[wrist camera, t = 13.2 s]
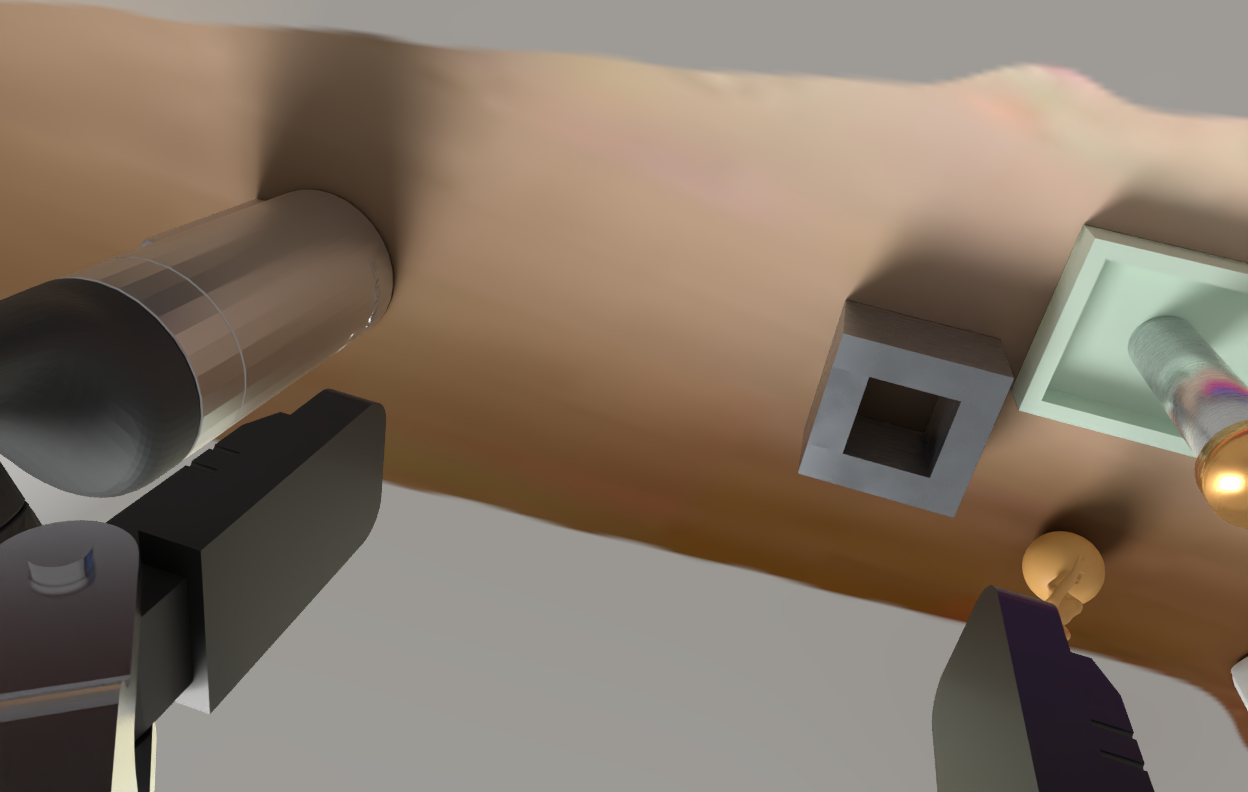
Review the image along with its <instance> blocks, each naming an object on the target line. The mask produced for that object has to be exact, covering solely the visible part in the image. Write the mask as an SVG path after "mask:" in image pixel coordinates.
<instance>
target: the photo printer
mask: <svg viewBox="0 0 1248 792" xmlns="http://www.w3.org/2000/svg"><path fill="white" fill-rule="evenodd" d="M1231 672H1232V675H1233V682H1234V685H1235V687H1236V689H1237V691H1238V693H1239V695H1240V696H1241V698H1242V700H1243V702H1244V704H1245V706H1246V708H1247V710H1248V657H1246V658H1244V659H1243V660H1241V661H1240V662H1238V663H1237V664H1235V665H1234V666H1233V667H1232V669H1231Z"/></svg>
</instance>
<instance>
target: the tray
mask: <svg viewBox="0 0 1248 792" xmlns="http://www.w3.org/2000/svg"><path fill="white" fill-rule="evenodd" d="M1158 316H1176V317H1180V318H1182V319H1185V320H1186V321H1188V322H1189V323H1190V324H1191V325H1192V326H1193V327H1194V328H1195V329H1196V330H1197V331H1198V332H1199V333H1200V335H1201V336H1202V337H1203V338H1204V339H1205V340H1206V341H1207V342H1208V343H1209V344H1210V346H1211V347H1212V348H1213V349H1214V350H1215V351H1216V352H1217V353H1218V354H1219V355H1220V357H1221V358H1222V359H1223V360H1224V361H1225V362H1226V363H1227V364H1228V365H1229V366H1230V368H1231V369H1232V370H1233V371H1234V372H1235V373H1236V374H1237V375H1238V376H1239V377H1240V379H1241V380H1242V381H1243V382H1244V383H1245V384H1246V385H1247V386H1248V263H1245V262H1240V261H1236V260H1232V259H1228V258H1223V257H1219V256H1215V255H1211V254H1206V253H1202V252H1198V251H1194V250H1189V249H1185V248H1181V247H1177V246H1172V245H1168V244H1164V243H1160V242H1155V241H1151V240H1147V239H1143V238H1138V237H1134V236H1130V235H1126V234H1121V233H1117V232H1113V231H1109V230H1104V229H1100V228H1096V227H1092V226H1087V225H1083V227H1082V229H1081V231H1080V234H1079V236H1078V238H1077V241H1076V243H1075V245H1074V247H1073V250H1072V252H1071V254H1070V257H1069V259H1068V261H1067V264H1066V266H1065V268H1064V270H1063V273H1062V275H1061V277H1060V280H1059V282H1058V284H1057V287H1056V289H1055V291H1054V293H1053V296H1052V298H1051V300H1050V303H1049V305H1048V307H1047V309H1046V312H1045V314H1044V316H1043V319H1042V321H1041V323H1040V326H1039V328H1038V330H1037V332H1036V335H1035V337H1034V339H1033V342H1032V344H1031V346H1030V349H1029V351H1028V353H1027V355H1026V358H1025V360H1024V362H1023V365H1022V367H1021V369H1020V371H1019V374H1018V376H1017V378H1016V381H1015V383H1014V385H1013V388H1012V393H1013V396H1014V399H1015V401H1016V404H1017V407H1018V410H1019V411H1023V412H1027V413H1030V414H1034V415H1038V416H1042V417H1045V418H1049V419H1053V420H1057V421H1060V422H1064V423H1068V424H1072V425H1075V426H1079V427H1083V428H1087V429H1090V430H1094V431H1098V432H1102V433H1105V434H1109V435H1113V436H1117V437H1120V438H1124V439H1128V440H1132V441H1135V442H1139V443H1143V444H1147V445H1150V446H1154V447H1158V448H1162V449H1165V450H1169V451H1173V452H1177V453H1180V454H1184V455H1188V456H1192V457H1195V458H1196V456H1195V455H1194V453H1193V452H1192V450H1191V449H1190V447H1189V446H1188V444H1187V443H1186V441H1185V440H1184V438H1183V437H1182V435H1181V434H1180V432H1179V431H1178V429H1177V428H1176V426H1175V425H1174V423H1173V422H1172V420H1171V419H1170V417H1169V416H1168V414H1167V413H1166V411H1165V410H1164V409H1163V407H1162V406H1161V404H1160V403H1159V401H1158V400H1157V398H1156V397H1155V395H1154V394H1153V392H1152V391H1151V389H1150V388H1149V386H1148V385H1147V383H1146V382H1145V380H1144V379H1143V377H1142V376H1141V374H1140V373H1139V371H1138V370H1137V368H1136V367H1135V365H1134V364H1133V362H1132V361H1131V359H1130V357H1129V354H1128V342H1129V339H1130V337H1131V335H1132V333H1133V332H1134V331H1135V329H1136V328H1137V327H1138V326H1140V325H1141V324H1142V323H1144V322H1145V321H1147V320H1149V319H1152V318H1154V317H1158Z"/></svg>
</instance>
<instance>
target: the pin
mask: <svg viewBox="0 0 1248 792" xmlns="http://www.w3.org/2000/svg"><path fill="white" fill-rule="evenodd" d="M1128 354H1129V357H1130V359H1131V361H1132V362H1133V364H1134V365H1135V367H1136V368H1137V370H1138V371H1139V373H1140V374H1141V376H1142V377H1143V379H1144V380H1145V382H1146V383H1147V385H1148V386H1149V388H1150V389H1151V391H1152V392H1153V394H1154V395H1155V397H1156V398H1157V400H1158V401H1159V403H1160V404H1161V406H1162V407H1163V409H1164V410H1165V411H1166V413H1167V414H1168V416H1169V417H1170V419H1171V420H1172V422H1173V423H1174V425H1175V426H1176V428H1177V429H1178V431H1179V432H1180V434H1181V435H1182V437H1183V438H1184V440H1185V441H1186V443H1187V444H1188V446H1189V447H1190V449H1191V450H1192V452H1193V453H1194V455H1195V456H1196V458H1197V461H1196V465H1195V478H1196V482H1197V484H1198V487H1199V489H1200V490H1201V492H1202V493H1203V495H1204V496H1205V498H1206V500H1207V501H1208V503H1209V504H1210V506H1211V507H1212V509H1213V510H1214V511H1215V513H1216V514H1217V515H1218V516H1220V517H1221V518H1222V519H1223V520H1225V521H1227V522H1228V523H1230V524H1232V525H1235V526H1238V527H1240V528H1244V529H1248V386H1247V385H1246V384H1245V383H1244V382H1243V381H1242V380H1241V379H1240V377H1239V376H1238V375H1237V374H1236V373H1235V372H1234V371H1233V370H1232V369H1231V368H1230V366H1229V365H1228V364H1227V363H1226V362H1225V361H1224V360H1223V359H1222V358H1221V357H1220V355H1219V354H1218V353H1217V352H1216V351H1215V350H1214V349H1213V348H1212V347H1211V346H1210V344H1209V343H1208V342H1207V341H1206V340H1205V339H1204V338H1203V337H1202V336H1201V335H1200V333H1199V332H1198V331H1197V330H1196V329H1195V328H1194V327H1193V326H1192V325H1191V324H1190V323H1189V322H1188V321H1186V320H1185V319H1182V318H1180V317H1176V316H1158V317H1154V318H1152V319H1149V320H1147V321H1145V322H1144V323H1142V324H1141V325H1140V326H1138V327H1137V328H1136V329H1135V331H1134V332H1133V333H1132V335H1131V337H1130V339H1129V342H1128Z"/></svg>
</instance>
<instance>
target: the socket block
mask: <svg viewBox="0 0 1248 792" xmlns="http://www.w3.org/2000/svg"><path fill="white" fill-rule="evenodd" d="M869 377H872V378H875V379H879V380H883V381H887V382H890V383H894V384H898V385H901V386H905V387H909V388H913V389H916V390H920V391H924V392H928V393H931V394H935V395H939V397H938V400H937V402H936V405H935V408H934V410H933V413H932V415H931V418H930V420H929V423H928V425H927V428H926V430H925V433H924V432H920V431H917V430H913V429H909V428H906V427H902V426H898V425H895V424H891V423H887V422H884V421H880V420H876V419H873V418H869V417H865V416H862V415H858V414H856V413H857V411H858V408H859V405H860V402H861V399H862V396H863V393H864V390H865V388H866V385H867V382H868V379H869ZM1013 380H1014V376H1013V373H1012V370H1011V368H1010V365H1009V362H1008V359H1007V357H1006V354H1005V351H1004V348H1003V345H1002V343H1001V340H1000V339H997V338H993V337H989V336H985V335H982V334H978V333H974V332H970V331H966V330H962V329H958V328H954V327H950V326H946V325H943V324H939V323H935V322H931V321H927V320H923V319H919V318H915V317H911V316H907V315H903V314H900V313H896V312H892V311H888V310H884V309H880V308H876V307H872V306H868V305H864V304H861V303H857V302H853V301H849V300H846V301H845V304H844V307H843V310H842V313H841V316H840V319H839V323H838V326H837V329H836V332H835V335H834V338H833V341H832V345H831V348H830V351H829V354H828V357H827V360H826V363H825V366H824V370H823V373H822V376H821V379H820V382H819V385H818V388H817V392H816V395H815V398H814V401H813V404H812V407H811V410H810V413H809V417H808V420H807V423H806V426H805V429H804V435H803V442H802V449H801V456H800V463H799V469H798V473H799V474H803V475H806V476H810V477H813V478H817V479H820V480H824V481H827V482H831V483H834V484H838V485H841V486H845V487H848V488H852V489H855V490H859V491H862V492H866V493H869V494H873V495H876V496H879V497H883V498H886V499H890V500H893V501H897V502H900V503H904V504H907V505H911V506H914V507H918V508H921V509H925V510H928V511H932V512H935V513H939V514H942V515H946V516H949V517H953V518H954V516H955V514H956V511H957V509H958V507H959V504H960V502H961V500H962V497H963V495H964V493H965V491H966V488H967V486H968V484H969V481H970V479H971V477H972V474H973V472H974V470H975V468H976V465H977V463H978V461H979V458H980V456H981V454H982V451H983V449H984V447H985V444H986V442H987V440H988V438H989V435H990V433H991V431H992V428H993V426H994V424H995V421H996V419H997V417H998V415H999V412H1000V410H1001V408H1002V405H1003V403H1004V401H1005V398H1006V396H1007V394H1008V392H1009V389H1010V387H1011V385H1012V382H1013Z"/></svg>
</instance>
